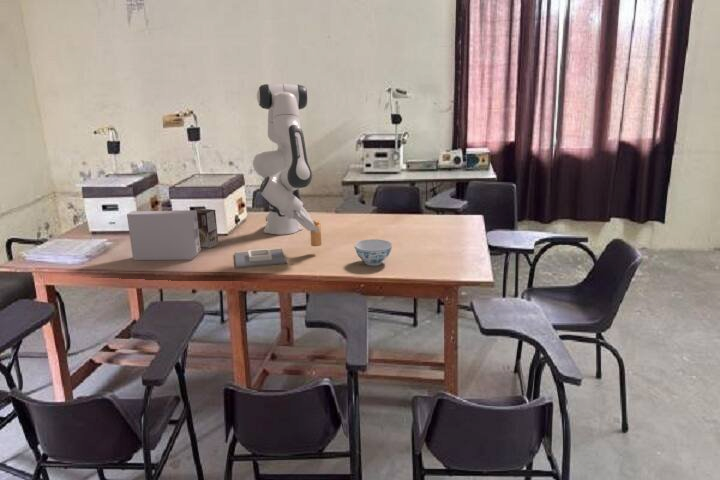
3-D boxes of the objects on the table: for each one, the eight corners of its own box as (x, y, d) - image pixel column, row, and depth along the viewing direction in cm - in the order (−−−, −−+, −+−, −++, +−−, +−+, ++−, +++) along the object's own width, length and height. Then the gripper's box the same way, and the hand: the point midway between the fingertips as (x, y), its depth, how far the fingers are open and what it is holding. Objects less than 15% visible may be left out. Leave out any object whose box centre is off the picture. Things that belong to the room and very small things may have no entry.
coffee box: (219, 244, 266) (215, 209, 262) (210, 248, 261) (206, 212, 256) (203, 242, 270) (199, 207, 265) (193, 246, 264) (190, 211, 260)
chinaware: (357, 256, 245) (356, 239, 243) (393, 257, 244) (393, 239, 242) (352, 268, 231) (352, 250, 229) (391, 269, 229) (391, 250, 227)
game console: (138, 256, 252) (132, 210, 246) (201, 255, 251) (196, 210, 246) (132, 260, 247) (126, 214, 241) (197, 259, 246) (192, 213, 240)
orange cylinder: (310, 243, 251) (309, 220, 248) (320, 242, 252) (319, 219, 249) (311, 246, 247) (310, 223, 244) (322, 245, 248) (321, 222, 244)
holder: (234, 254, 251) (234, 248, 250) (281, 250, 255) (281, 244, 255) (236, 268, 234) (235, 261, 233) (286, 263, 239) (286, 257, 238)
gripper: (301, 208, 232) (326, 230, 237) (295, 197, 251) (318, 217, 256) (290, 220, 233) (315, 242, 238) (285, 207, 252) (308, 228, 257)
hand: (317, 229), depth 247 cm, fingers closed on orange cylinder, 4 cm apart
